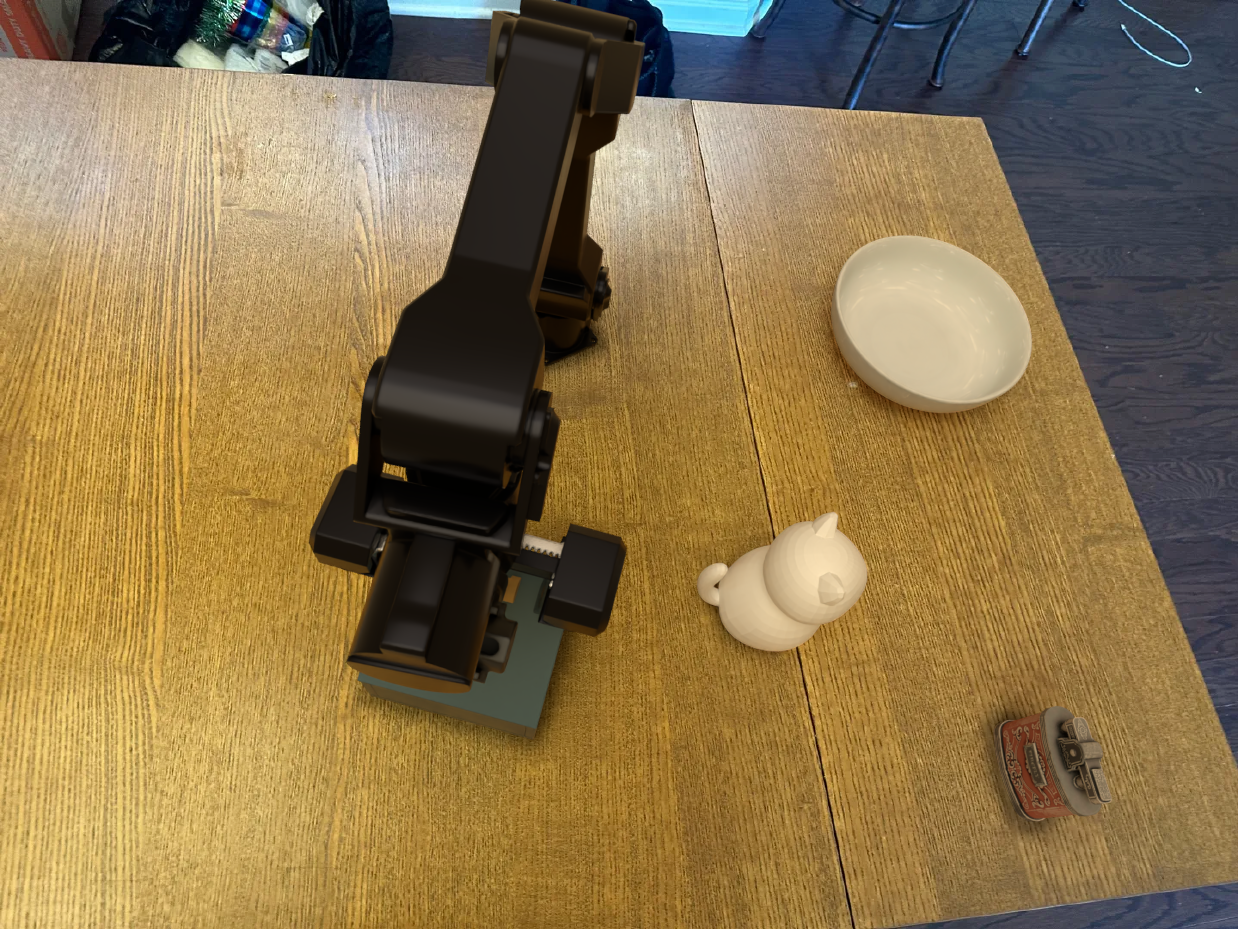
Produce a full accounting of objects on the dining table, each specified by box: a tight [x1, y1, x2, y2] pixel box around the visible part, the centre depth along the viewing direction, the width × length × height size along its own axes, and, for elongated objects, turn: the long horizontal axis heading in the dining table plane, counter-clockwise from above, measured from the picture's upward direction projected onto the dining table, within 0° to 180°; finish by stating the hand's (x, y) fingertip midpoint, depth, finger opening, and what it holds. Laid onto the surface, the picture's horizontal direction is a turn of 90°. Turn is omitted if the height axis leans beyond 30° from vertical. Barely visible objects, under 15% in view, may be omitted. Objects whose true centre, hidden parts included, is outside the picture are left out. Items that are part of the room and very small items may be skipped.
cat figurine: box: [696, 511, 868, 652], centre depth 66 cm, size 9×12×15 cm
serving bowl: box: [830, 234, 1033, 414], centre depth 85 cm, size 21×21×7 cm
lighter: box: [993, 705, 1113, 823], centre depth 65 cm, size 8×3×10 cm, turn 5°
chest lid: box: [357, 570, 565, 729], centre depth 57 cm, size 12×14×5 cm
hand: (475, 590), depth 58 cm, fingers open, 9 cm apart
